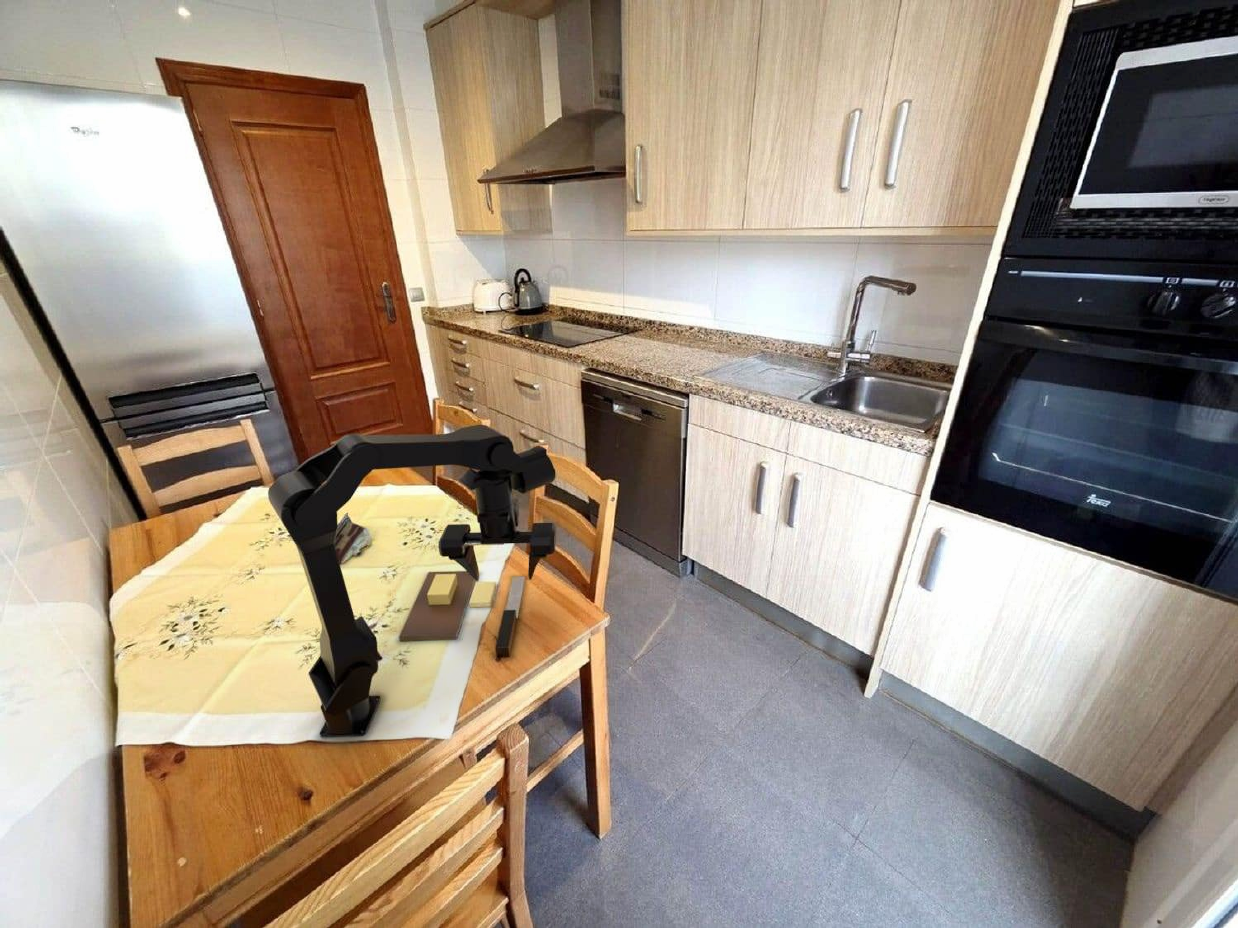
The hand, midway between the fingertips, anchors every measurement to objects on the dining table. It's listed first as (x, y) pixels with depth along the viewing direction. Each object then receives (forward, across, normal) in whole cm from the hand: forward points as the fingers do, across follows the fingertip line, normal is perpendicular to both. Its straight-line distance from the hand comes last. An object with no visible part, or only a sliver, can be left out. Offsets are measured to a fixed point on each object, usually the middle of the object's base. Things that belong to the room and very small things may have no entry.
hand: (504, 578), depth 88 cm
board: (+11, +14, -6) cm, 19 cm away
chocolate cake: (+11, +39, -24) cm, 47 cm away
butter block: (+10, +14, -8) cm, 19 cm away
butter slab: (+10, +6, -8) cm, 14 cm away
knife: (+11, 0, -3) cm, 11 cm away
